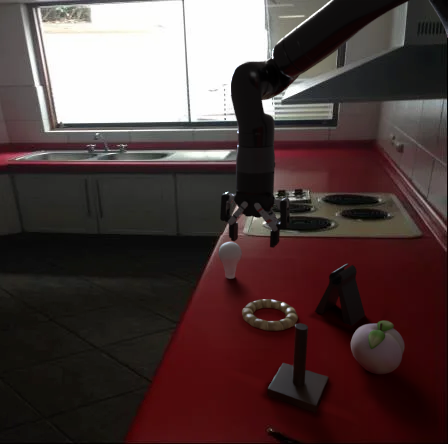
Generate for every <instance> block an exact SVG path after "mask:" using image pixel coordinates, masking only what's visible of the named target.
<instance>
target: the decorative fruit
mask: <svg viewBox="0 0 448 444" xmlns="http://www.w3.org/2000/svg"><path fill="white" fill-rule="evenodd" d="M394 327H395V325H394V324H393V322H391V321H389V320H380V321H378V322H377V323H366V324H363V325H361V326H359V327H358V328H357V329H356V330H355V332H354V333H353V334H352V337H351V341H350V350H351V353H352V356H353V357H354V359H355V360H356V362H357V363H358V364H359V365H360V366H361V367H362V368H363V369H364V370H365V371H367V372H369V373H371V374H375V375H387V374H390V373H392V372H394V371H395V370H396V369H397V368H399V366H400V364H401V363H402V360H403V355H404V351H405V341H404V338H403V337H402V335H401V334H400V332H399V331H397V329H396V328H394Z"/></svg>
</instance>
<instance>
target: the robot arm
mask: <svg viewBox="0 0 448 444" xmlns="http://www.w3.org/2000/svg"><path fill="white" fill-rule="evenodd" d="M410 1H411V0H329V1H328V2H326V3H325V4H323V6H321V7H319V8H318V9H317V10H316V11H315V12H313V13H312V14H311V15H310V16H308V17H307V18H306V19H303V21H301V22H300V23H299V24H298V25H297V26H296V27H293V28H292V30H290V31H289V32H287V33H286V34H285V35H283V37H282V38H280V39H279V40H278V41H277V42H276V43H275V45H274V46H273V48H272V51H271V55H272V56H270V57H269V58H267V59H265V60H262V61H260V60H259V61H254V60H253V61H243V62H241V63H239V64H238V65H237V66H236V67H235V68H234V70H233V71H232V73H231V78H230V82H229V93H230V98H231V102H232V103H231V104H232V107H233V112H234V116H235V119H236V123H237V148H236V156H235V158H236V159H235V193H231V192H230V191H227V192H225V193H222V195H221V197H220V212H219V213H220V215H219V219H220V221H221V222H226V223H227V224H228V238H229V239H230V242H236V241H237V240H238V239H239V222H238V220H239V219H240V218H241V217H242V216H243V215H244V217H246V218H247V217H249V218H250V217H253V218H257V219H261V218H262V220H263V222H265V223H266V224H267V225H268V226H269V228H270V229H271V230H270V233H269V248H273V249H274V248H275V247H276V246H277V245H279V242H280V239H281V238H280V235H281V230H286V229H287V228H288V227H289V226H290V225H291V213H290V212H291V206H290V205H291V202H290V198H289V197H284V198H276V197H275V195H274V191H275V168H276V152H275V131H276V130H275V129H276V127H275V119H274V116H273V115H271V114H268V113H265V109H264V105H263V101H266V100H267V101H268V100H271V99H273V98H275V97H277V96H279V95H280V94H282V93H283V92H284V91H285V90H287V89H288V88H289V87H290V86H291V85H292V84H293V83H294V82H296V80H297V79H298V78H299V76H301V75H302V74H305V73H306V72H307V71H309V70H310V69H313V68H314V67H315V66H317V65H318V64H319V63H321V62H323V61H324V60H326V59H327V58H329V56H331V55H333V54H334V53H335V52H337V51H338V50H339V49H341V47H343V46H344V45H345V44H347V42H348V41H350V40H352V38H353V37H354V36H356V35H357V34H358V33H359V32H360V31H362V30H363V29H364V28H366V27H367V26H368V25H370V24H371V23H372V22H374V21H375V20H377V19H379V18H380V17H382V16H384V15H385V14H387V13H389V12H390V11H392V10H394V9H396V8H398V7H400V6H402V5H404V4H405V3H408V2H410ZM428 1H429V3H430V4H431V6H432V8H433V9H434V12H435V13H436V15H437V16H438V18H439V20H440V21H441V24H442V26H443V28H444V31H445V33H446V36H447V37H448V0H428ZM233 202H234V203H235V204H236V206H237V209H236V210H235V211H234V212H233V214H232V215H231V204H232V203H233ZM274 205H275V206H276V208H277V210H279V219H278V218H277V215H276V213H275V211H274V210H273V209H272V208H273V207H274Z"/></svg>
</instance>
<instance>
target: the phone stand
mask: <svg viewBox="0 0 448 444" xmlns="http://www.w3.org/2000/svg"><path fill="white" fill-rule="evenodd" d="M361 298H362V297H361V294H360V291H359V287H358V283H357V268H356V267H355V265H354V264H351V265H350V266H349V263H346V264H344V265H342V266H341V267H339V268H337V269H336V270H334V271H332V272H331V273H329V275H328V285H327V286H326V289H325V290H324V293H323V294H322V296H321V299H320V301H319V302H318V304H317V306H316V308H315V310H314V312H315V313H318V314H320V315H323V314H325V313H326V312H327V311H329V310H330V309H332V308H333V307H335V306H336V305H337V302H338V299H339V304H340V309H341V315H342V320H343V324H345V325H348V326H351V327H353V326H354V325H356V324H357V323H358V322H359V321H360V320H362V319H363V318H364V317H365V316H366V313H365V309H364V305H363V302H362V299H361Z"/></svg>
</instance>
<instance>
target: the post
mask: <svg viewBox="0 0 448 444" xmlns="http://www.w3.org/2000/svg"><path fill="white" fill-rule="evenodd" d="M308 334H309V326H308V325H307V324H305V323H301V322H299V323H295V325H294V341H293V359H292V361H293V364H289V363H285V362H282V364H281V365H280V367H279V368H278V371H277V372H276V373H275V375H274V376H273V379H272V381H270V382H271V383H270V384H269V386H268V387H267V396H268V397H269V398H272V399H275V400H278V401H281V402H284V403H286V404H289V405H292V406H295V407H298V408H300V409H303V410H306V411H308V412H311V413H314V414H317V412H318V410H319V407H320V404H321V402H322V400H321V398H322V395H323V393H324V391H325V389H326V385H327V384H328V381H329V376H328V375H324V374H320V373H317V372H314V371H311V370H307V369H306V368H307V354H308V353H307V351H308Z"/></svg>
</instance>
